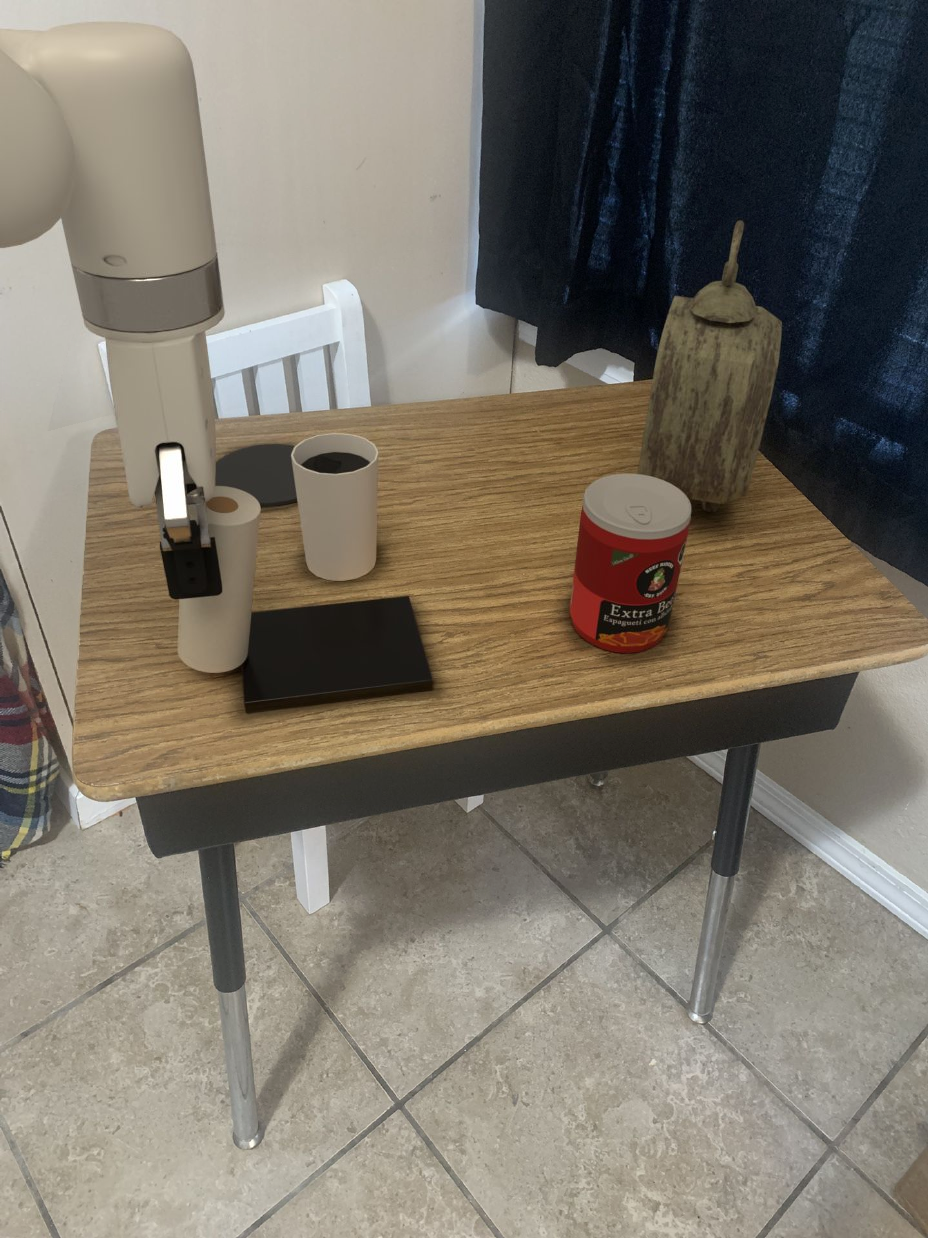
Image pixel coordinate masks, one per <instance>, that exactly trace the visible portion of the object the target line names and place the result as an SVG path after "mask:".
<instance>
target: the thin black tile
mask: <svg viewBox="0 0 928 1238" xmlns="http://www.w3.org/2000/svg"><path fill="white" fill-rule="evenodd" d="M241 675H242V676H241V677H242V693H243V706H244V712H245V714H250V713H258V712H267V711H276V710H282V709H283V710H284V709H291V708H299V707H306V706H307V707H308V706H314V705H316V706H317V705H323V704H331V703H338V702H339V703H340V702H348V701H355V700H363V699H371V698H380V697H386V696H395V695H396V696H397V695H404V694H412V693H418V692H427V691H433V690H434V679H433V675H432V672H431V668H430V665H429V660H428V657H427V654H426V650H425V647H424V644H423V640H422V637H421V632H420V630H419V626H418V622H417V619H416V615H415V612H414V608H413V605H412V602H411V598H410V596H409V595H403V596H395V597H385V598H374V599H366V600H356V601H355V600H354V601H346V602H337V603H329V604H327V603H326V604H319V605H309V606H300V607H299V606H298V607H290V608H280V609H279V608H278V609H272V610H262V611H261V610H260V611H254V612H253V611H252V612H251V623H250V634H249V645H248V655H247V658H246V660H245V661H244V662H243V663H242V664H241Z"/></svg>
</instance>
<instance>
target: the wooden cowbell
mask: <svg viewBox="0 0 928 1238" xmlns="http://www.w3.org/2000/svg"><path fill="white" fill-rule="evenodd" d="M744 229H745V222H744V221H743V220H737V221H736V222H735V225H734V228H733V233H732V237H731V244H730V250H729V255H728V256H729V257H728V260H727V261H726V262H725V263H724V267H723V271H722V278H721V280H715V281H711V282H710V283H708V284H707V285H705V286H704V287H703V288H701V289H700V290H699V291H698V292H697V293H696V294H695V295H694V297H688V296H680V295H674V297H673V299H672V301H671V304H670V307H669V309H668V312H667V316H666V319H665V323H664V327H663V329H662V333H661V337H660V340H659V344H658V349H657V353H656V358H655V365H654V369H653V376H652V381H651V387H650V392H649V399H648V405H647V411H646V416H645V424H644V429H643V434H642V443H641V448H640V449H641V450H640V456H639V461H638V469H637V474H641V475H647V476H651V477H655V478H658V479H661V480H664V481H666V482H668V483H670V484H672V485H674V486H675V487H677V488H678V489H680V490H681V491H682V492H683V493H684V494H685V495H686V496H687V498H688V499H689V500H695V501H701V505H702V509H703V510H704V511H706V512H707V513H711V514H712V513H716V512H717V511H718V510H719V508H720V507H721V505H724V504H727V503H731V502H733V501H736V500H739V499H742V498H744V497H747V496H748V494H749V489H750V486H751V482H752V478H753V474H754V470H755V466H756V463H757V459H758V454H759V450H760V447H761V442H762V438H763V433H764V429H765V425H766V422H767V416H768V413H769V408H770V404H771V400H772V396H773V391H774V387H775V382H776V378H777V373H778V366H779V360H780V354H781V353H780V352H781V343H782V331H783V329H782V328H783V321H781V319H779V318H778V317H776V316H775V315H774V314H772V313H771V312H769V311H768V310H767V309H765V307H763V306H758V305H756V302H755V300H754V297H753V296H752V294H751V293H750V292H749V290H748V289H747V288H746V286H745V285H743V284H740V283H738V282H736V281H737V280H736V279H737V276H738V271H739V264H738V262H737V261H738V253H739V250H740V246H741V240H742V237H743V233H744Z"/></svg>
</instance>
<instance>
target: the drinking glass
mask: <svg viewBox="0 0 928 1238" xmlns="http://www.w3.org/2000/svg"><path fill="white" fill-rule="evenodd" d="M294 446H295V447H294V449H293V451H292V454H291V459H292V466H293V473H294V480H295V487H296V494H297V508H298V515H299V522H300V528H301V529H300V530H301V535H302V542H303V549H304V558H305V564H306V566H307V569H308V571H310V573H312V574H313V575H314V576H315V577H318V578H321V579H324V580H327V581H336V582H344V581H351V580H357V579H359V578H361V577H363V576H365V575H367V574H369V573H370V572H371V571H372V570H373V569H374V568H375V566H376V562H377V542H378V541H377V540H378V538H377V536H378V533H377V532H378V494H379V493H378V491H379V489H378V488H379V487H378V486H379V450H378V448H377V446H376V444H375V443H374V442H372V441H371V440H369V439H367V438H365V437H363V436H359V435H355V434H352V433H341V432H330V433H322V434H317V435H314V436H310V437H308V438H305V439H303V440H302V441H300V442H298V444H296V445H294Z"/></svg>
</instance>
